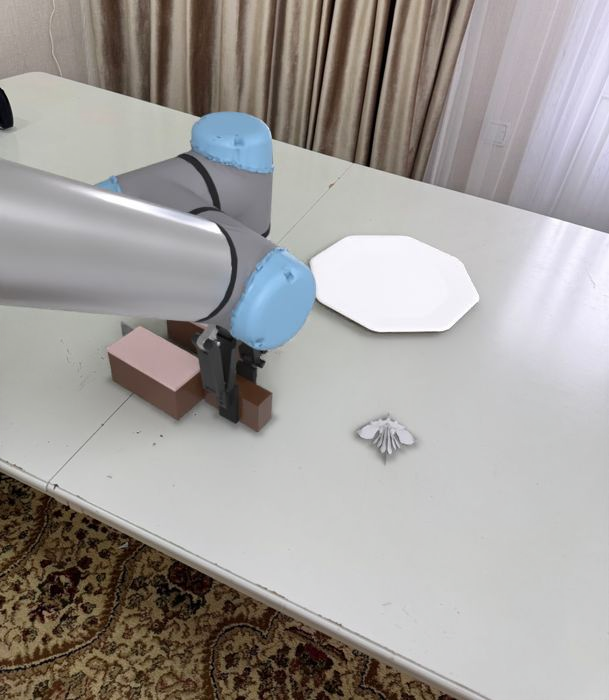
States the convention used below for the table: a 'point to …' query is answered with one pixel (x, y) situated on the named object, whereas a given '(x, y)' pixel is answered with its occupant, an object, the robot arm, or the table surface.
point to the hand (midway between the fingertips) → (237, 408)
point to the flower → (386, 424)
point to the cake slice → (157, 371)
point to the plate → (393, 284)
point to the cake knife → (241, 398)
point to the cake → (187, 333)
